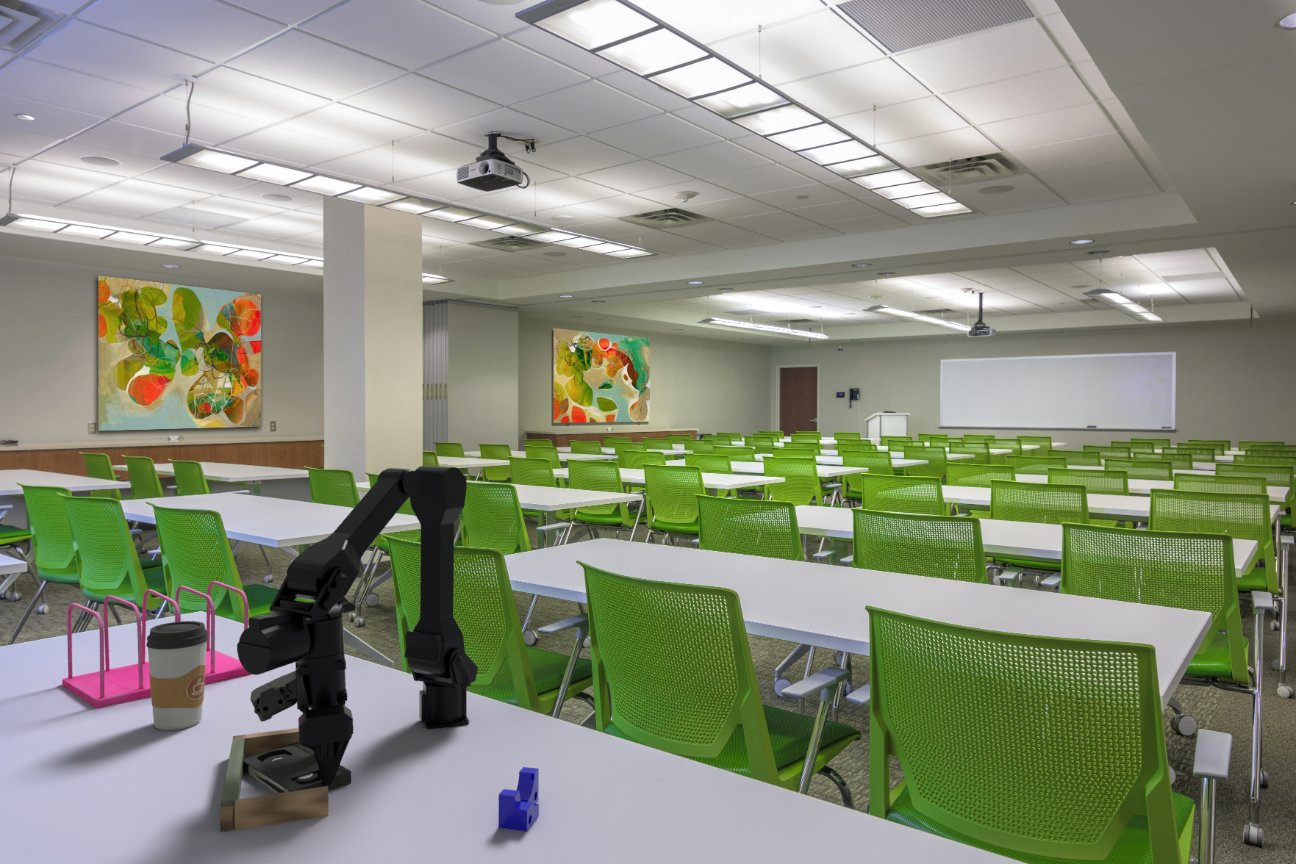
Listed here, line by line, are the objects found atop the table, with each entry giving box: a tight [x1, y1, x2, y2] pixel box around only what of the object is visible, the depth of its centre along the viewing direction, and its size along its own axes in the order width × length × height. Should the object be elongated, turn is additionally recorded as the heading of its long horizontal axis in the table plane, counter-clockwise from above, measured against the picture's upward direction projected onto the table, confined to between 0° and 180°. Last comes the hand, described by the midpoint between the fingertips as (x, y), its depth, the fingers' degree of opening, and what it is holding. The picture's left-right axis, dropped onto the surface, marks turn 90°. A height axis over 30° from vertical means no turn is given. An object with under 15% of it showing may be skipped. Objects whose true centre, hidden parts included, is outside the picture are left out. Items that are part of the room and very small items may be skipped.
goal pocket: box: [219, 727, 329, 833], centre depth 111 cm, size 12×23×3 cm, turn 22°
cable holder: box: [497, 766, 540, 832], centre depth 104 cm, size 8×4×4 cm, turn 167°
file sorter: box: [61, 580, 252, 709], centre depth 152 cm, size 17×25×16 cm
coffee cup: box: [145, 620, 208, 731], centre depth 131 cm, size 8×8×15 cm
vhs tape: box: [243, 742, 352, 794], centre depth 113 cm, size 14×8×2 cm, turn 48°
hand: (326, 770), depth 113 cm, fingers open, 9 cm apart
